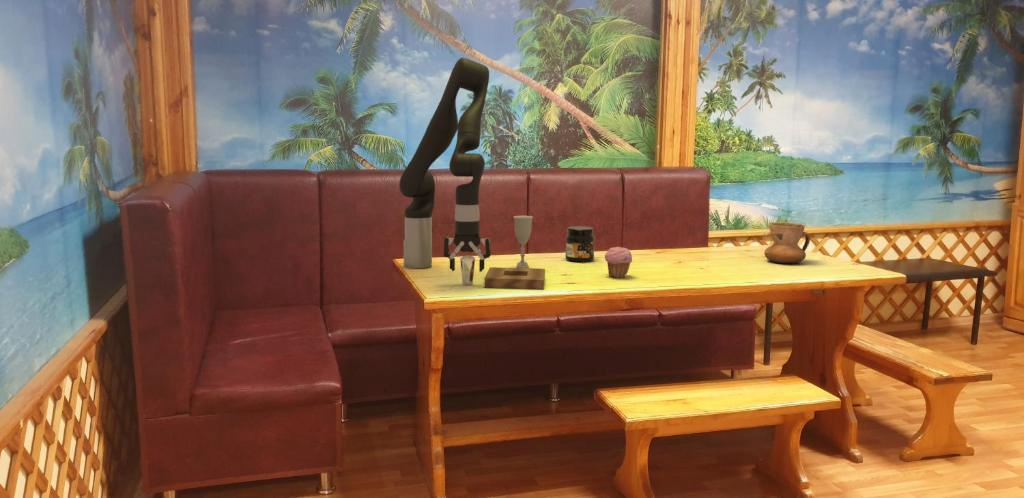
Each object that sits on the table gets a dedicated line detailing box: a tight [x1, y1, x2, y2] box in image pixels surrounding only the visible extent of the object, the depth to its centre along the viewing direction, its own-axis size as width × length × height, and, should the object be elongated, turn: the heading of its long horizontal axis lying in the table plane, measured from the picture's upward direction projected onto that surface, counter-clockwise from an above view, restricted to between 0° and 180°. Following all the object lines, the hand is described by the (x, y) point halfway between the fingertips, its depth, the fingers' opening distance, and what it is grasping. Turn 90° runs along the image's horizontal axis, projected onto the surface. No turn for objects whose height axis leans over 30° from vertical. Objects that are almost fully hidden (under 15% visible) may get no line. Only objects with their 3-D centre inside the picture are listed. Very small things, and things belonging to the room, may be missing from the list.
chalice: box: [512, 215, 534, 268], centre depth 272 cm, size 7×7×18 cm
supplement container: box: [565, 225, 596, 263], centre depth 291 cm, size 10×10×12 cm
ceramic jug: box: [763, 221, 811, 265], centre depth 293 cm, size 18×14×14 cm
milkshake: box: [457, 253, 476, 287], centre depth 246 cm, size 4×5×10 cm
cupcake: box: [604, 246, 633, 279], centre depth 262 cm, size 9×9×10 cm
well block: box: [483, 266, 546, 290], centre depth 251 cm, size 18×18×3 cm
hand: (467, 271), depth 246 cm, fingers open, 8 cm apart
